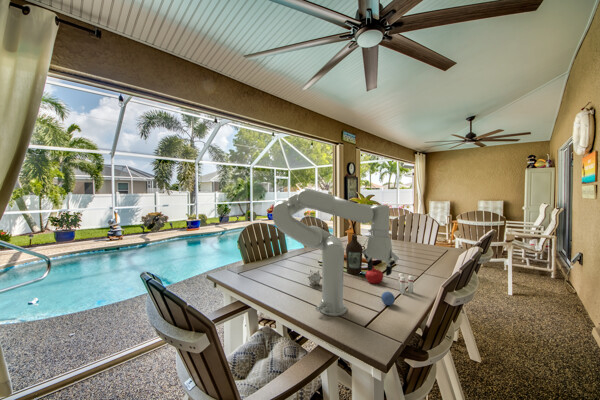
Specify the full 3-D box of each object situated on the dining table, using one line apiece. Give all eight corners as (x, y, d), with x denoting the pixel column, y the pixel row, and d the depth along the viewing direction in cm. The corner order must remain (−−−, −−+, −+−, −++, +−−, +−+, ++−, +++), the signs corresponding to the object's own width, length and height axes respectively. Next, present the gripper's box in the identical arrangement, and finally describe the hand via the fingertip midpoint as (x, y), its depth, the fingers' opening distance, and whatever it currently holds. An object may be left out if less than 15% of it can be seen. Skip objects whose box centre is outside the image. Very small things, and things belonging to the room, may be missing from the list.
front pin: (403, 294, 123) (404, 278, 122) (398, 293, 124) (399, 277, 124) (405, 293, 124) (406, 277, 124) (400, 291, 126) (401, 276, 126)
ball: (391, 309, 108) (391, 296, 108) (378, 304, 112) (379, 292, 112) (396, 304, 112) (397, 292, 112) (384, 300, 117) (384, 288, 116)
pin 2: (412, 293, 124) (412, 277, 124) (407, 292, 126) (407, 276, 125) (413, 292, 126) (414, 276, 125) (408, 290, 128) (409, 275, 127)
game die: (316, 292, 134) (316, 282, 128) (304, 284, 138) (304, 274, 132) (324, 280, 139) (325, 271, 133) (313, 273, 143) (313, 263, 137)
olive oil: (345, 269, 162) (346, 232, 161) (361, 270, 160) (362, 233, 158) (345, 274, 151) (346, 235, 150) (362, 275, 149) (363, 236, 148)
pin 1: (402, 290, 128) (402, 275, 127) (397, 289, 129) (398, 274, 129) (404, 289, 129) (404, 274, 129) (399, 288, 131) (400, 272, 131)
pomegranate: (384, 286, 134) (384, 270, 134) (365, 284, 136) (366, 268, 136) (381, 279, 144) (382, 264, 143) (364, 277, 146) (365, 263, 145)
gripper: (357, 231, 108) (357, 269, 108) (396, 237, 95) (395, 280, 96) (366, 229, 113) (365, 265, 114) (403, 234, 101) (402, 275, 101)
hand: (379, 272), depth 105 cm, fingers open, 7 cm apart
